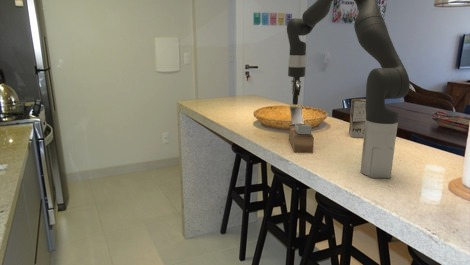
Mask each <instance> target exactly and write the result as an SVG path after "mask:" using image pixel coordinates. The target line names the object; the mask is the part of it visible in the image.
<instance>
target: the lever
mask: <svg viewBox="0 0 470 265" xmlns="http://www.w3.org/2000/svg"><path fill="white" fill-rule="evenodd" d="M288 107H289V110H290V118H291V125H295V124H300V123H305V122H304V115H303V106H302V105H289V106H288Z"/></svg>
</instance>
